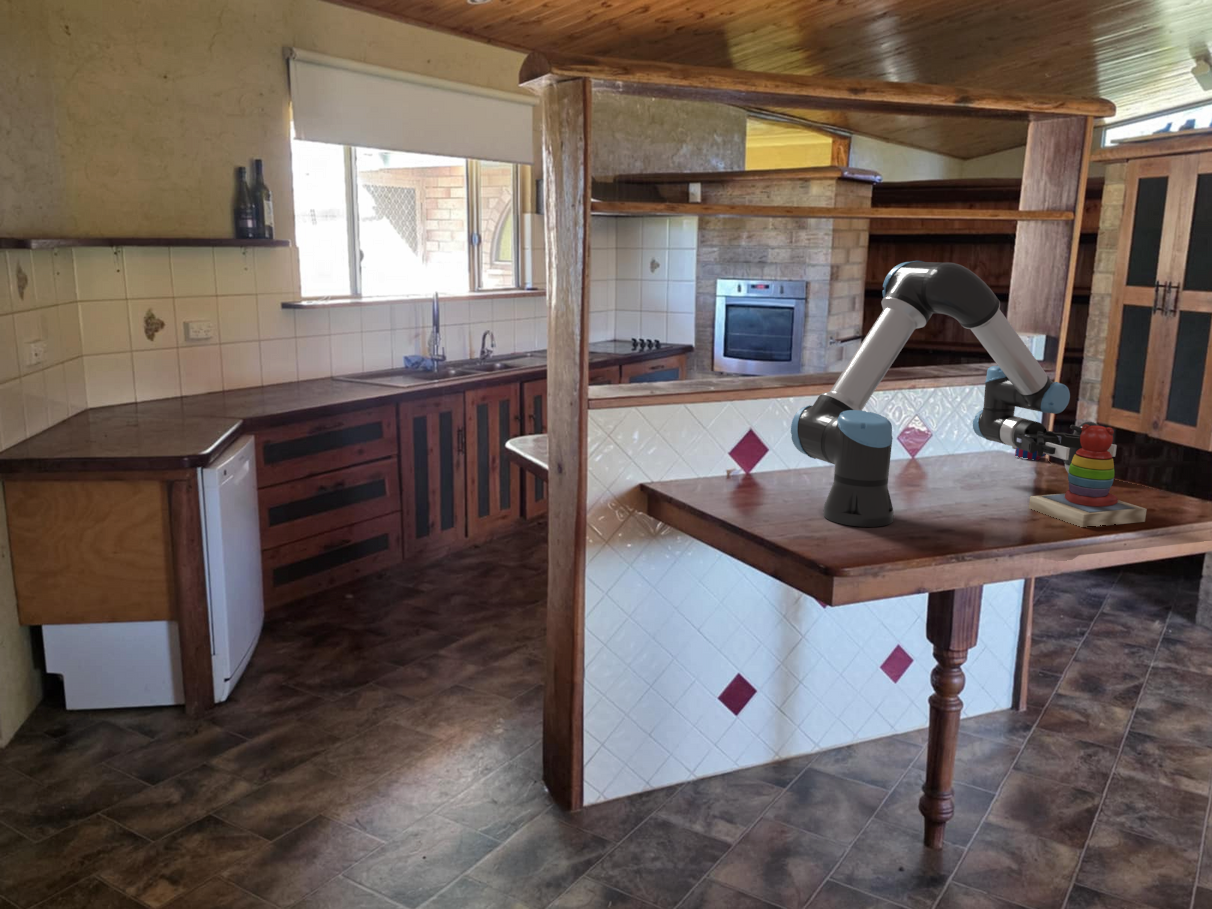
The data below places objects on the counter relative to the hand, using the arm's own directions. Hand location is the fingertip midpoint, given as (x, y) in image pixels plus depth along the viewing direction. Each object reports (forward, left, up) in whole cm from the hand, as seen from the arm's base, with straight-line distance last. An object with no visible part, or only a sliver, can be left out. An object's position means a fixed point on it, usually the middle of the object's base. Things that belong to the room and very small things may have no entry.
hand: (1091, 452), depth 218 cm
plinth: (0, -1, -15) cm, 15 cm away
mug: (+32, +51, -15) cm, 62 cm away
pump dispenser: (+29, +29, -15) cm, 44 cm away
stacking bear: (0, -1, -12) cm, 12 cm away
